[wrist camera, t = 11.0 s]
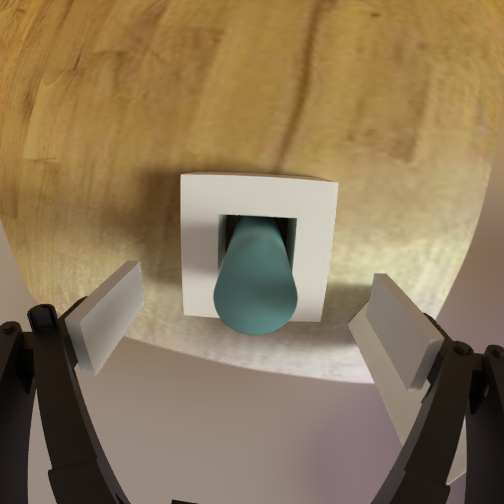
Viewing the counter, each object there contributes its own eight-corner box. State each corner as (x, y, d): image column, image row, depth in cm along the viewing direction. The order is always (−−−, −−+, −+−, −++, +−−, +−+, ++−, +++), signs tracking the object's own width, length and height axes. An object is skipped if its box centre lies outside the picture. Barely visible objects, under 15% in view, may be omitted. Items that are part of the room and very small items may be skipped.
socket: (196, 171, 27) (180, 174, 21) (322, 178, 27) (338, 182, 21) (196, 287, 31) (184, 315, 25) (310, 293, 31) (320, 321, 25)
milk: (346, 324, 32) (416, 492, 11) (381, 284, 30) (494, 432, 9) (378, 345, 33) (450, 492, 12) (411, 309, 31) (512, 442, 10)
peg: (234, 211, 28) (213, 257, 15) (281, 213, 28) (301, 262, 15) (233, 255, 30) (213, 332, 16) (278, 257, 29) (292, 336, 16)
